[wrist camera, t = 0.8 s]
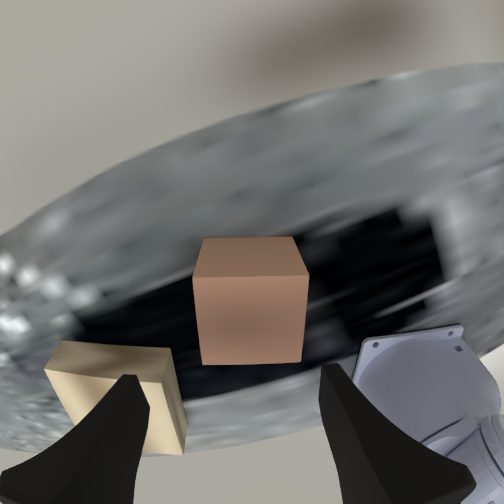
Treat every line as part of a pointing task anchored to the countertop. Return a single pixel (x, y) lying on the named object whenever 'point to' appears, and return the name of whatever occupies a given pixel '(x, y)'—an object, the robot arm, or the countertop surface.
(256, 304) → the terracotta cube
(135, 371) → the birch base
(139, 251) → the countertop surface
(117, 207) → the countertop surface
